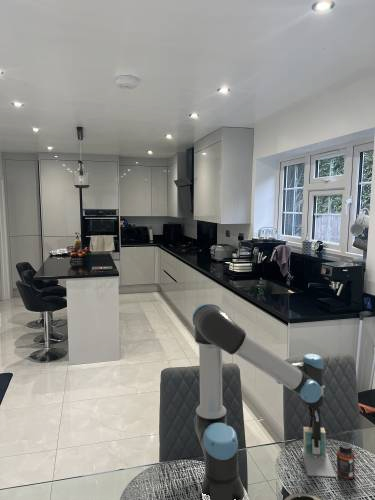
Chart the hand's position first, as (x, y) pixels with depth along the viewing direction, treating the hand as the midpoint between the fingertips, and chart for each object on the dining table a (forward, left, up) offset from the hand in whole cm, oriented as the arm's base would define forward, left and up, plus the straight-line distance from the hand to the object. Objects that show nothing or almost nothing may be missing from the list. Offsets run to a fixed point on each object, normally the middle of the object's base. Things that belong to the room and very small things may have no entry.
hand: (314, 448), depth 146 cm
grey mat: (0, -5, -2) cm, 5 cm away
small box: (0, 0, -2) cm, 2 cm away
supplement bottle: (+9, -11, -2) cm, 14 cm away
